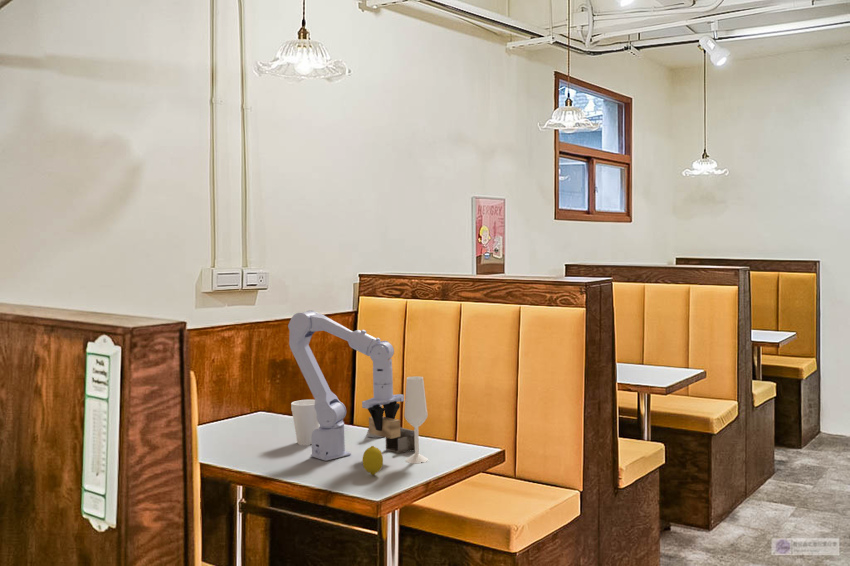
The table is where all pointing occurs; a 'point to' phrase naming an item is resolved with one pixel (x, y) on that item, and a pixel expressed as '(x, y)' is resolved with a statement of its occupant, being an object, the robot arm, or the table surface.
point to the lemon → (372, 460)
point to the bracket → (401, 442)
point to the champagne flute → (415, 411)
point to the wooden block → (386, 428)
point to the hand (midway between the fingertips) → (384, 429)
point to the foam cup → (304, 420)
